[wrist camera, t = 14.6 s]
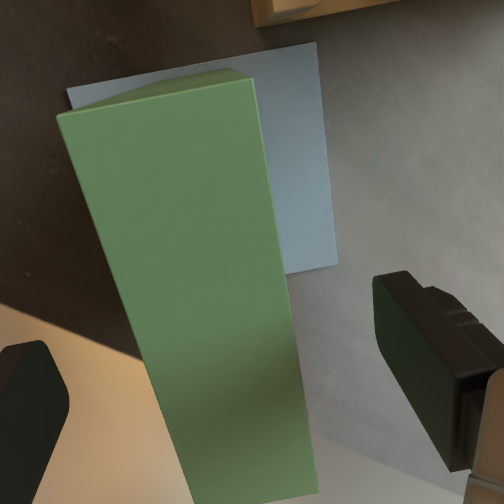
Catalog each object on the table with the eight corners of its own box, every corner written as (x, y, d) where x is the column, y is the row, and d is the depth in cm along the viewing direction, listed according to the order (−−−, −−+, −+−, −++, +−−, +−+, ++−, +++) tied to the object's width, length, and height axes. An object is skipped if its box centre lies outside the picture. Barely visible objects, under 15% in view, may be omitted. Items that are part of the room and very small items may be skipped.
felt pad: (139, 299, 25) (138, 303, 25) (68, 88, 20) (65, 88, 20) (336, 262, 25) (337, 265, 25) (314, 41, 20) (316, 41, 20)
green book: (207, 280, 25) (198, 516, 12) (156, 81, 20) (53, 115, 7) (265, 269, 25) (320, 493, 12) (229, 67, 20) (254, 76, 7)
